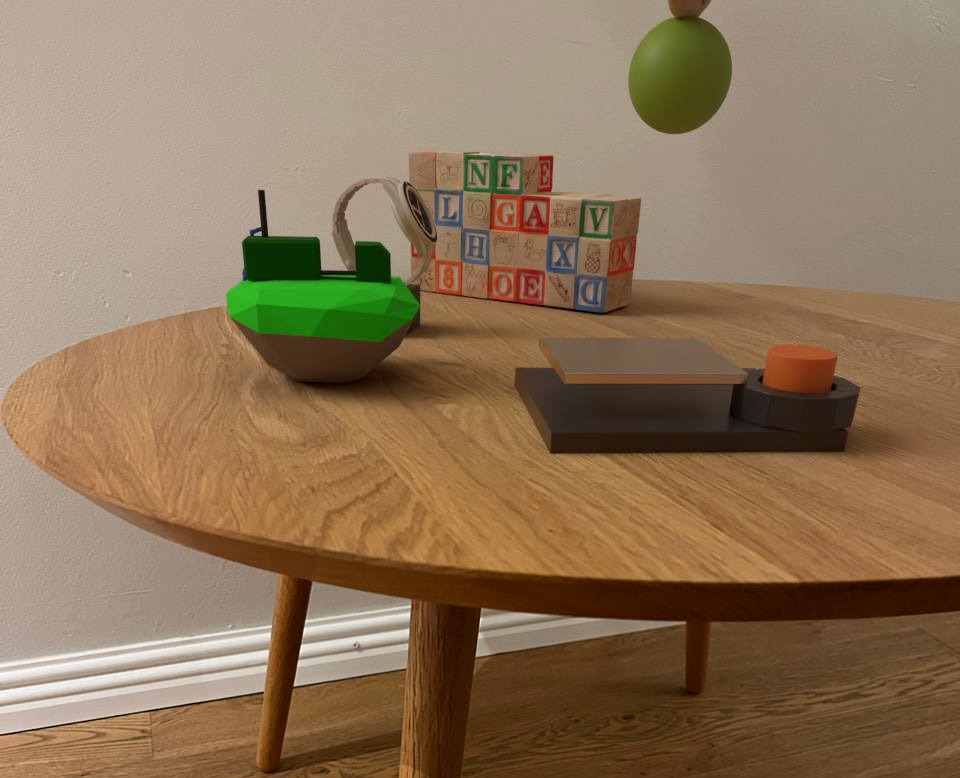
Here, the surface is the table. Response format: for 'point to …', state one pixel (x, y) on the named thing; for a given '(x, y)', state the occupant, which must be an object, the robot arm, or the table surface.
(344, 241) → the watch
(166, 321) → the table surface
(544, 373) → the scale
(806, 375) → the tare button
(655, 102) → the snail figurine
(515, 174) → the stack of blocks
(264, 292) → the floating island model
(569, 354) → the scale pan
